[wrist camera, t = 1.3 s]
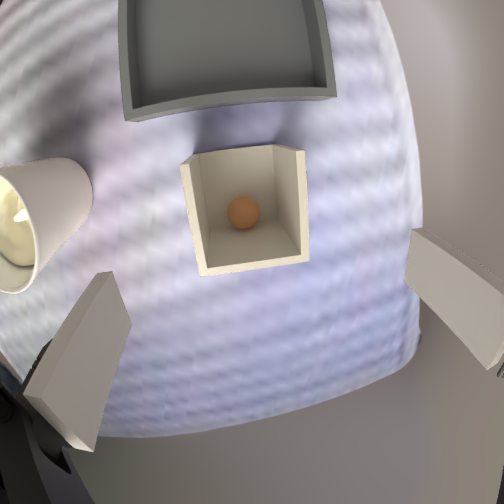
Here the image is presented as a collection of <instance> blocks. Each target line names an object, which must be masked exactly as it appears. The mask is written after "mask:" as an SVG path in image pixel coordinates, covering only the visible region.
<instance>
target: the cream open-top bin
mask: <svg viewBox="0 0 504 504" xmlns="http://www.w3.org/2000/svg"><path fill="white" fill-rule="evenodd" d="M180 171H181V177H182V183H183V189H184V195H185V201H186V207H187V212H188V218H189V223H190V228H191V234H192V239H193V244H194V249H195V254H196V259H197V263H198V268H199V273H200V277H203V276H210V275H218V274H225V273H232V272H239V271H246V270H253V269H260V268H266V267H273V266H280V265H286V264H293V263H300V262H306V261H309V227H308V200H307V180H306V163H305V150H301V149H297V148H293V147H288V146H284V145H279V144H271V145H260V146H251V147H242V148H233V149H226V150H218V151H211V152H205V153H198V154H193V155H191V156H190V157H189V158H188V159H186V160H185V161H184V162H183V163H182V164H180ZM241 196H246V197H250V198H252V199H253V200H255V201H256V202H257V204H258V206H259V208H260V217H259V220H258V221H257V223H256V224H255V225H254V226H252V227H251V228H248V229H240V228H237V227H235V226H233V225H232V224H231V222H230V221H229V219H228V216H227V210H228V206H229V204H230V203H231V202H232V201H233V200H234V199H236V198H238V197H241Z"/></svg>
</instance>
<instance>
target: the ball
mask: <svg viewBox="0 0 504 504" xmlns="http://www.w3.org/2000/svg"><path fill="white" fill-rule="evenodd" d="M227 216H228V219H229V221H230V222H231V224H232V225H233V226H235V227H237V228H240V229H248V228H251V227H252V226H254V225H255V224H256V223H257V221H258V220H259V217H260V208H259V206H258V204H257V202H256V201H255V200H253V199H252V198H250V197H246V196H241V197H238V198H236V199H234V200H233V201H232V202H231V203H230V204H229V206H228V210H227Z"/></svg>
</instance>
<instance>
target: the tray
mask: <svg viewBox="0 0 504 504" xmlns="http://www.w3.org/2000/svg"><path fill="white" fill-rule="evenodd" d="M118 44H119V65H120V79H121V91H122V101H123V110H124V118H125V121H133V122H140V121H144V120H148V119H153V118H157V117H162V116H167V115H171V114H177V113H182V112H188V111H194V110H200V109H206V108H213V107H221V106H229V105H238V104H249V103H261V102H277V101H322V100H326V99H330V98H334V97H337V92H336V83H335V74H334V67H333V59H332V52H331V46H330V39H329V33H328V28H327V22H326V17H325V12H324V7H323V2H322V0H118Z"/></svg>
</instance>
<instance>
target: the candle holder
mask: <svg viewBox="0 0 504 504" xmlns="http://www.w3.org/2000/svg"><path fill="white" fill-rule="evenodd" d="M92 202H93V192H92V186H91V182H90V179H89V177H88V175H87V173H86V172H85V170H84V169H83V168H82V167H81V166H80V165H79V164H78V163H77V162H75V161H74V160H72V159H69V158H65V157H56V158H48V159H42V160H36V161H30V162H25V163H19V164H14V165H10V166H5V167H0V291H2V292H5V293H11V294H15V293H20V292H22V291H24V290H25V289H27V288H28V287H29V286H30V285H31V284H32V282H33V281H34V279H35V277H36V276H37V275H38V274H39V272H40V271H41V270H42V269H43V268H44V266H45V265H46V264H47V263H48V262H49V261H50V259H51V258H52V257H53V256H54V255H55V254H56V253H57V252H58V250H59V249H60V248H61V247H62V246H63V245H64V244H65V243H66V242H67V241H68V240H69V239H70V238H71V237H72V235H73V234H74V233H75V232H76V231H77V230H78V229H79V228H80V227H81V226H82V225H83V224H84V222H85V221H86V219H87V218H88V216H89V214H90V211H91V207H92Z"/></svg>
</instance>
